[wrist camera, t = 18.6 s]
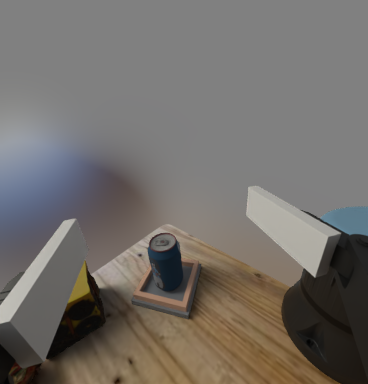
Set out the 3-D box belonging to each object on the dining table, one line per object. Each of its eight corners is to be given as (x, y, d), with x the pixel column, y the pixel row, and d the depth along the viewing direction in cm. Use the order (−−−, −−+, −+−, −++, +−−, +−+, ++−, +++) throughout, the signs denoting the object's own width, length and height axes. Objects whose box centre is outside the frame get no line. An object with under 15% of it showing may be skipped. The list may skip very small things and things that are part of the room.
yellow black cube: (98, 287, 42) (86, 257, 38) (107, 323, 35) (92, 290, 30) (49, 313, 37) (28, 282, 33) (46, 363, 30) (18, 330, 26)
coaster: (201, 267, 45) (200, 259, 44) (188, 319, 34) (187, 310, 33) (156, 259, 49) (155, 252, 48) (132, 303, 38) (129, 295, 37)
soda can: (184, 268, 44) (180, 230, 39) (182, 294, 37) (176, 253, 32) (158, 268, 44) (151, 231, 40) (151, 294, 38) (141, 253, 33)
